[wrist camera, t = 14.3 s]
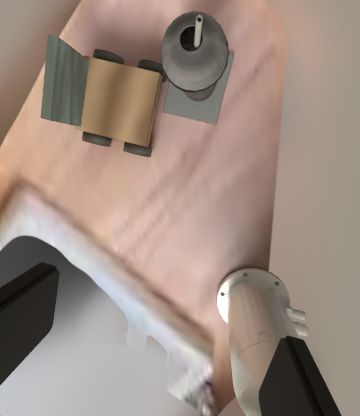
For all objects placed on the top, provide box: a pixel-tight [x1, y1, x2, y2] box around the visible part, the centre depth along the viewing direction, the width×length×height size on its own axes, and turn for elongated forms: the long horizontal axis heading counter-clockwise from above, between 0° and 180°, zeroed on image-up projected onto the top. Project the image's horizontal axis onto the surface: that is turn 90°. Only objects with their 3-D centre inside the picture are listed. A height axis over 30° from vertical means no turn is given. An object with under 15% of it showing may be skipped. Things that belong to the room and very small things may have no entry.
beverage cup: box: [161, 11, 229, 102], centre depth 27 cm, size 7×7×20 cm
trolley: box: [41, 35, 167, 157], centre depth 33 cm, size 12×13×12 cm
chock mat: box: [163, 54, 234, 125], centre depth 37 cm, size 9×10×1 cm
